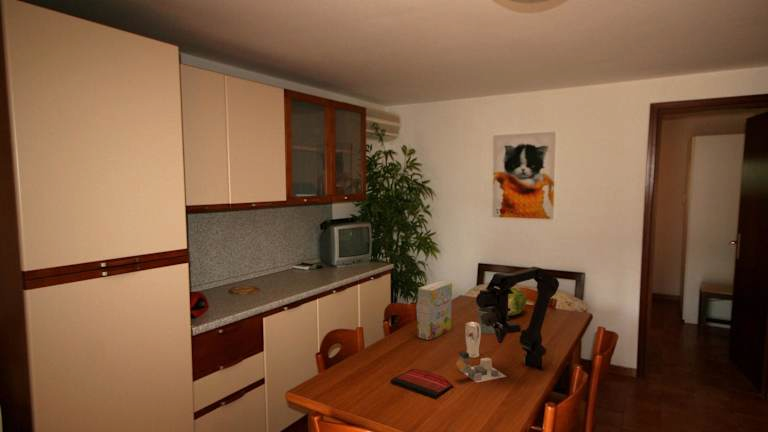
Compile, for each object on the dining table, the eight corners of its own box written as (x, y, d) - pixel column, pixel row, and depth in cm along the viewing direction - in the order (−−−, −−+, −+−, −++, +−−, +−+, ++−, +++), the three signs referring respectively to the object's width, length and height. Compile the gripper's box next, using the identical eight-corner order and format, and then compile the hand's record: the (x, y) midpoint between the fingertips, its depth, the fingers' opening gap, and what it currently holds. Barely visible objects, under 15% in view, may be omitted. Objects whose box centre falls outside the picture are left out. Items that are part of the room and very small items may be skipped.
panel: (486, 365, 186) (486, 357, 186) (506, 378, 173) (506, 370, 173) (457, 370, 181) (457, 362, 181) (476, 385, 168) (476, 375, 168)
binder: (436, 394, 157) (390, 378, 170) (436, 400, 157) (390, 384, 170) (457, 380, 170) (413, 366, 183) (457, 386, 170) (413, 372, 183)
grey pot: (495, 328, 233) (495, 306, 232) (498, 335, 223) (498, 312, 222) (476, 328, 234) (476, 306, 233) (478, 334, 224) (478, 311, 223)
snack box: (431, 341, 215) (431, 290, 213) (416, 338, 220) (416, 287, 218) (452, 329, 232) (452, 282, 230) (438, 326, 237) (438, 279, 235)
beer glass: (469, 360, 191) (469, 327, 190) (462, 354, 198) (462, 322, 197) (483, 359, 193) (483, 325, 192) (476, 353, 200) (476, 321, 199)
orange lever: (474, 370, 174) (458, 358, 171) (479, 374, 171) (463, 362, 168) (471, 375, 174) (455, 364, 171) (476, 379, 170) (459, 367, 167)
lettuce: (488, 319, 250) (488, 292, 248) (505, 308, 271) (505, 283, 270) (514, 324, 241) (514, 296, 240) (529, 312, 262) (530, 286, 261)
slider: (488, 366, 182) (488, 357, 182) (491, 369, 180) (491, 359, 180) (480, 368, 181) (480, 358, 181) (483, 370, 179) (483, 361, 178)
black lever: (464, 366, 181) (464, 350, 181) (468, 369, 178) (468, 353, 178) (459, 366, 181) (459, 351, 180) (463, 370, 177) (463, 354, 177)
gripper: (471, 301, 181) (470, 337, 182) (498, 313, 164) (497, 354, 165) (493, 298, 185) (492, 334, 186) (522, 310, 168) (521, 350, 169)
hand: (499, 343), depth 176 cm, fingers closed
